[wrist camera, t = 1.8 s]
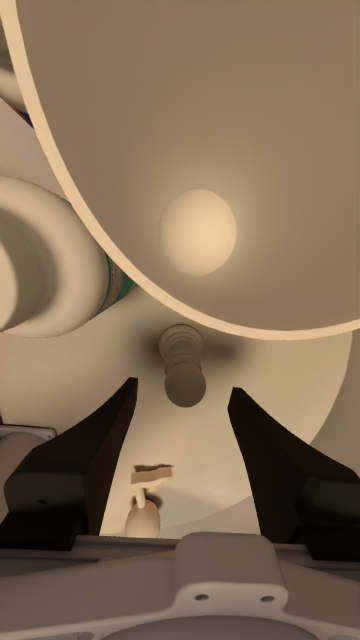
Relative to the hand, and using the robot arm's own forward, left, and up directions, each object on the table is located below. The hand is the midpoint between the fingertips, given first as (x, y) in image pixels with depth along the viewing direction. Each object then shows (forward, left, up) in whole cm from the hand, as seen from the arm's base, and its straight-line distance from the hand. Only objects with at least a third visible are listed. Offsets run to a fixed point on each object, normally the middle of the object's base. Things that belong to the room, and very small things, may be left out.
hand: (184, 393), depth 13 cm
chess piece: (0, 0, -9) cm, 9 cm away
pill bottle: (+8, +9, -9) cm, 15 cm away
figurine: (-33, 0, -6) cm, 34 cm away
